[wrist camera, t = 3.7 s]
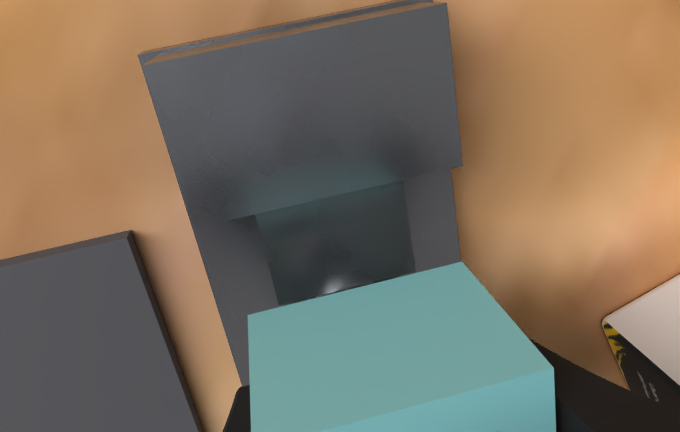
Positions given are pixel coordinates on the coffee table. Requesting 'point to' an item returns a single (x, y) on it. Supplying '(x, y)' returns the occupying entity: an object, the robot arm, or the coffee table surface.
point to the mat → (87, 344)
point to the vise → (313, 154)
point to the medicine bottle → (649, 343)
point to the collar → (398, 361)
